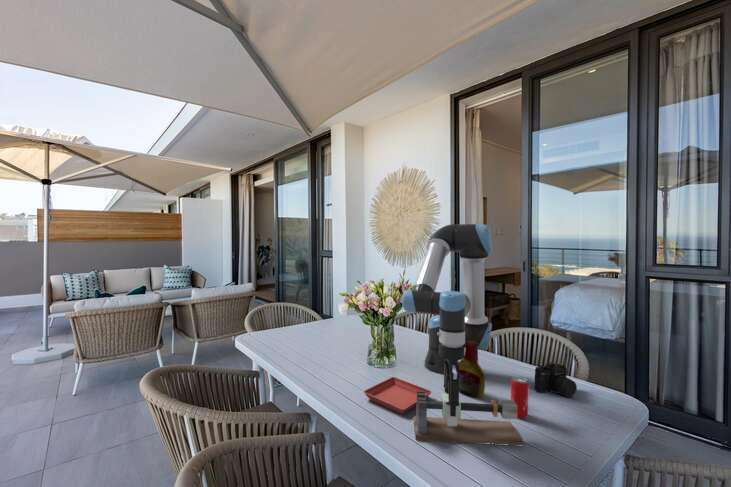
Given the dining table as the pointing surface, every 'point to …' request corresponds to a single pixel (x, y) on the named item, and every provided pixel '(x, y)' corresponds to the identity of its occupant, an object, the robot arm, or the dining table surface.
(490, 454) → the dining table surface
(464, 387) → the bottle
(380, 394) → the plant saucer
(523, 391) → the beverage can
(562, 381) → the camera
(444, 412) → the sleeve
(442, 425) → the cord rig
